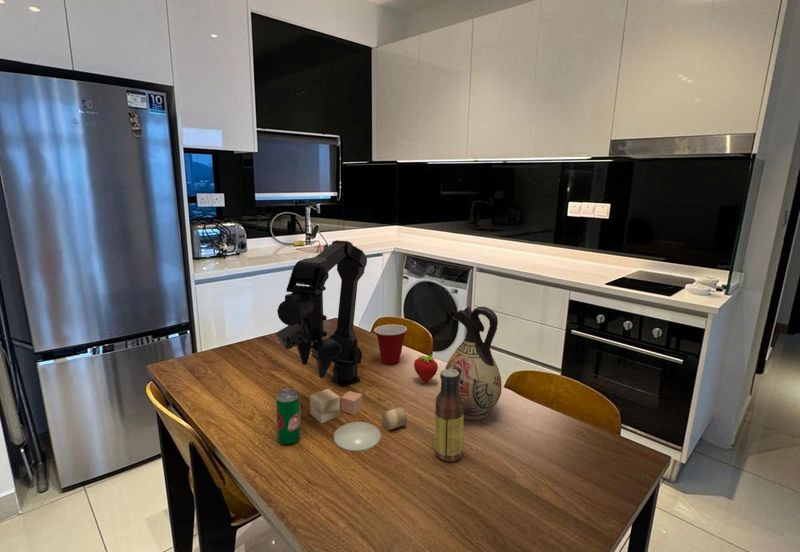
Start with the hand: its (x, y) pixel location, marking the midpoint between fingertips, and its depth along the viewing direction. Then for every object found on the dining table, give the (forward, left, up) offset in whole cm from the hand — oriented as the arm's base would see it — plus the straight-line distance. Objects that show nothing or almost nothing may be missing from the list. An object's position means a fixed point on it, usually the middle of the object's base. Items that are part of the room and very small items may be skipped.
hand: (313, 370), depth 108 cm
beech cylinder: (-11, +17, -10) cm, 22 cm away
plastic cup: (-36, -13, -12) cm, 40 cm away
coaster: (-3, +15, -12) cm, 20 cm away
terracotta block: (-9, +4, -12) cm, 16 cm away
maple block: (-2, +2, -12) cm, 13 cm away
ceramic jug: (-33, +25, -12) cm, 43 cm away
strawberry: (-35, +5, -12) cm, 37 cm away
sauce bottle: (-15, +33, -12) cm, 38 cm away
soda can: (+10, +6, -12) cm, 17 cm away
